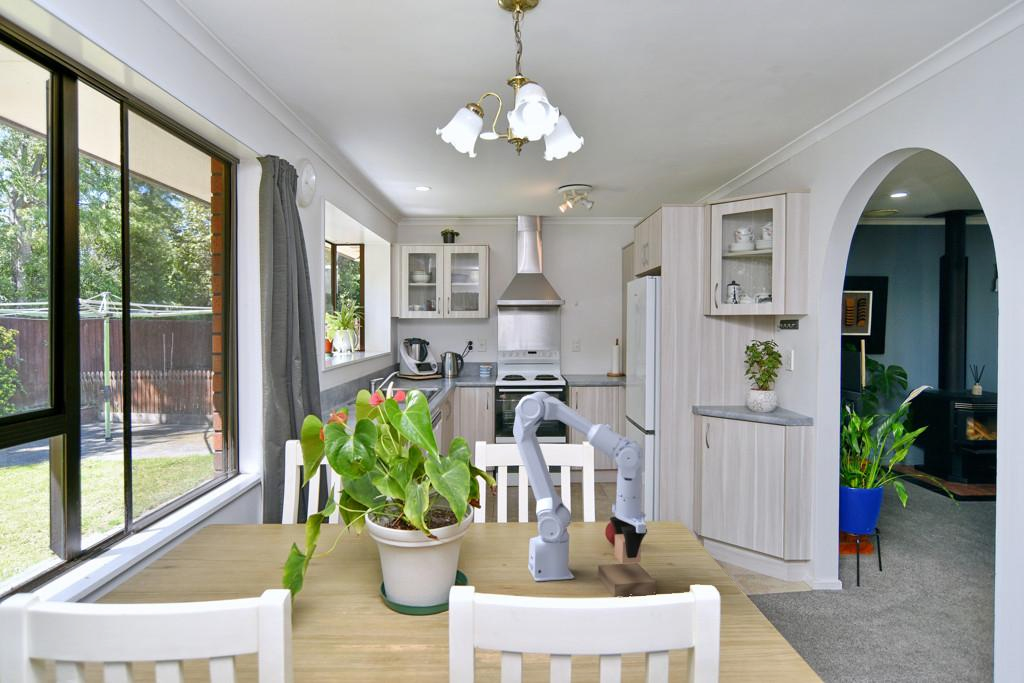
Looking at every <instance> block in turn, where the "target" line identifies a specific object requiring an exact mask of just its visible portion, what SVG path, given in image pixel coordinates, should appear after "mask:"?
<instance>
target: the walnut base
mask: <svg viewBox="0 0 1024 683" xmlns="http://www.w3.org/2000/svg"><path fill="white" fill-rule="evenodd" d="M597 570H598V571H597V578H598V580H599V581H600V582H601V583H602V585H603V586H604V587H605V588H606V589H607V591H608V592H609V593H610V594H611V595H612V597H613V598H614V597H617V596H631V597H641V596H642V595H644V596H653V594H656V595H657V580H655V578H654V577H653V576H652V575H651V574H650V573H649V572H647V570H646V569H644V568H643V567H642V566H641V565H640V564H639V562H638V563H623V564H622V563H618V564H617V563H614V564H599V565H598V568H597ZM654 592H655V593H654ZM630 594H632V595H630Z"/></svg>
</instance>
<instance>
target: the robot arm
mask: <svg viewBox="0 0 1024 683" xmlns="http://www.w3.org/2000/svg"><path fill="white" fill-rule="evenodd" d="M514 410H515V417H514V422H513V429H512V433H513V436H514V440H515V443H516V446H517V449H518V451H519V455H520V457H521V460H522V464H523V466H524V469H525V472H526V475H527V478H528V480H529V483H530V487H531V489H532V492H533V494H534V497H535V498H534V499H535V501H536V507H535V508H536V509H535V512H536V513H535V514H536V517H537V531H538V533H539V534H538V535H537V536H534V537H530V539H529V546H528V565H527V568H528V571H529V572H530V574H531V575H532V577H533V579H534V581H536V582H543V581H544V582H545V581H559V580H571V579H574V578H575V576H574V575H573V573H572V572H571V570H570V569H569V560H570V558H569V557H570V556H569V554H570V534H569V532H568V527H569V526H570V525H571V523H572V514H571V511H570V510H569V508H567V506H566V505H565V504H564V502H563V499H562V497H561V496H560V495H558V492H556V489H555V486H554V485H555V484H554V483H553V480H552V478H551V474H550V471H549V468H548V466H547V463H546V461H545V458H544V454H543V450H542V449H541V445H540V443H539V439H538V437H537V434H536V432H537V430H538V428H539V426H540V425H541V423H542V421H543V420H544V421H551V420H553V421H554V420H556V421H557V420H558V421H560V422H562V423H563V424H565V425H567V426H568V427H570V428H572V429H574V431H577V432H579V433H580V434H582V435H583V436H585V437H586V438H587V441H588V443H589V445H590V446H592V447H593V448H594V449H596V450H598V451H600V453H602V454H604V455H606V456H607V457H609V458H610V459H612V460H613V459H614V460H615V463H616V464H617V474H616V499H615V500H616V501H615V502H616V503H613V504H612V506H611V509H612V510H611V512H612V513H613V514H614V516H610V519H609V520H610V522H611V523H612V525H613V527H614V531H615V535H616V534H624V538H625V544H626V554H627V557H628V558H636V557H637V554H638V551H639V547H640V544H641V545H642V541H643V539H644V538H645V536H646V535H647V534H648V529H647V523H646V522H645V521H644V518H645V517H646V515H647V514H646V513H645V512H644V511H642V495H643V494H642V492H643V490H642V489H643V475H642V473H643V468H642V462H643V460H644V456H645V455H644V450H643V447H642V446H641V445H640V444H639V443H638V441H636V440H631V439H630V438H629V437H627V436H625V437H624V436H622V435H621V434H619V433H618V432H616V431H614V430H613V429H612V428H613V427H612V426H611V425H610V424H609V423H608V424H607V423H606V425H605V424H603V423H598V424H593V423H592V422H591V421H589V420H588V419H587V418H586V417H583V416H582V415H581V414H579V413H578V412H576V411H575V410H574V409H572V408H571V407H570V406H568V405H566V404H565V403H564V402H562V401H561V400H560V399H558V398H556V397H555V396H551V395H550V394H548V393H547V392H544V391H537V392H534V393H531V394H526V395H525V396H523V397H522V398H521V399H520V400H519V402H518V404H517V405H516V407H515V408H514Z"/></svg>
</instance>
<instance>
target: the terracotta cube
mask: <svg viewBox="0 0 1024 683" xmlns="http://www.w3.org/2000/svg"><path fill="white" fill-rule="evenodd" d="M614 557H615V558H616V559H617V561H619V562H620V564H627V563H638V564H639V563H641V561H642V559H641V557H642V543H641V544H640V547H639V551H638V554H637V557H636V558H628V557H627V554H626V544H625V538H624V534H616V535H615V546H614Z"/></svg>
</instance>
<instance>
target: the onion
mask: <svg viewBox="0 0 1024 683" xmlns="http://www.w3.org/2000/svg"><path fill="white" fill-rule="evenodd" d="M604 531H605V532H604V536H605V538H606V539H607V541H608V542H609V543H610V544H611V545H612V546H614V547H615V531H614V527H613V525H612V523H611V521H610V522H609V523H608V524H606V527H605V530H604Z"/></svg>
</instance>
